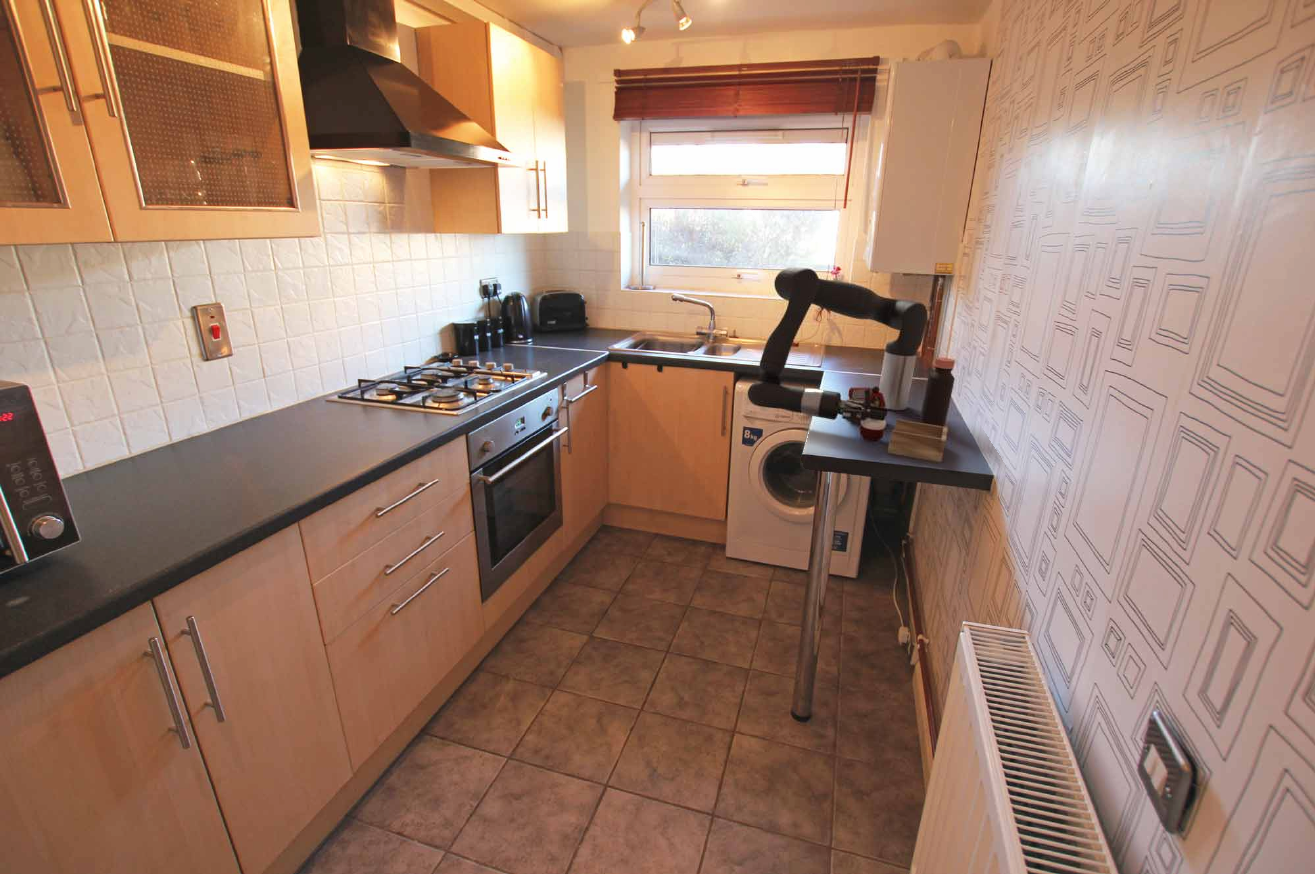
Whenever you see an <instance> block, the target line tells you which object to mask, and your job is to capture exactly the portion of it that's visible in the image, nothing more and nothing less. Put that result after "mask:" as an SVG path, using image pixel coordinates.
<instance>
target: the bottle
mask: <svg viewBox="0 0 1315 874" xmlns="http://www.w3.org/2000/svg"><path fill="white" fill-rule="evenodd" d="M955 362H956V360H955V359H953V358H947V357H936V358H935V361H934V371H932V372H930V374H929V375H928V377H927V383H926V387H925V393H924V397H923V402H922V408H921V413H920V417H919V422H918V423H924V424H930V425H936V426H942V427H944V426H946V422H947V417H948V412H949V409H950V402H951V398H952V393H953V390H954V385H955V380H956V379H955V377H954V375H953V374H952V371H953V370H954V367H955Z"/></svg>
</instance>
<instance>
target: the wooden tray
mask: <svg viewBox="0 0 1315 874" xmlns="http://www.w3.org/2000/svg"><path fill="white" fill-rule="evenodd" d="M894 426H895V427H894V429H892V430H891V432H890V438H889V443H888V448H887V452H886V453H888V454H894V455H898V456H903V455H904V456H903V457H908V456H909V458H913V457H914V459H919V460H924V461H931V462H935V463H942V460H943V456H944V451H945V446H946V441H947V436H948V428H949V426H947V425H945V426H944V427H942V426H936V425H930V424H924V423H919V422H918V421H912V420H905V419H899V418H897V419H896V421H895V425H894Z"/></svg>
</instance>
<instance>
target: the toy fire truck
mask: <svg viewBox="0 0 1315 874" xmlns="http://www.w3.org/2000/svg"><path fill="white" fill-rule="evenodd" d="M865 390H870V394H871V403H872V405H873V406H877V407H883V408H885V406H886V404H885V401H884V397H883V394H882V393H880V392H879V390H880V389H879V386H877V385H875V386H873V387H872V388H871V387H869V386H867V387H866V386H864V387H863V386H862V387H861V386H859V387H852V386H851V387H850V388H849V389H848V395H847V396H848V399H850V400H851V399H852V398H855V399H858V400H862V401H865ZM864 408H866V407H864ZM854 421H855V423H857V424H858V425H860V424H861V420H854Z"/></svg>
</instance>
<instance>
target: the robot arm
mask: <svg viewBox="0 0 1315 874" xmlns="http://www.w3.org/2000/svg"><path fill="white" fill-rule="evenodd" d="M773 284H774V289H775V291H776V293H777V295H778V296H779V297H780V298H781V299H783V300H785V301H787V302H788V303H787V307H786V310H785V312H784V314H783V316H782V318H781V320H780V321H779V323H778V324H777V326H776V327H775V328H774V330H773V331H772V333H771V334H770V335H769V337H768V338H767V341H766V343H765V345H764V348H763V352H762V355H761V359H760V361H759V364H758V366H759V367H758V368H759V370H760V371H759V374H758V375H759V376H758V381H756V382H754V383H752V384H750V386H749V387H748V390H747V398H748V400H749V402H750V403H751V404H752V405H754V406H756V407H759V408H760V407H763V408H770V409H778V410H783V411H787V412H792V413H798V414H803V415H806V416H811V417H816V418H822V419H828V420H832V421H833V420H836V419H837V417H838V415H841V419H844V420H851V421H853V420H854V421H855V420H862V421H864V420H865V419H869V418H870V419H875V420H881V421H884V419H885V420H886V417H887V415H888V411H889V410H891V411H892V410H893V411H903V410H906V409H907V406H908V401H909V396H910V390H911V385H912V382H913V381H912V380H913V375H914V370H915V365H916V359H917V354H918V351H919V348H920V347H921V345H922V341H923V338H924V334H925V331H926V326H927V322H928V310H927V309H928V308H927V307H926V305H925V304H924V303H922V302H918V301H913V300H908V299H898V298H897V299H896V298H890V297H885V296H881V295H878V294H877V293H876V292H874V290H873V289H870V288H868V287H864V286H861V285H858V284H855V283H851V282H846V281H842V280H831V279H823V278H819V276H818V274H817V272H816V271H815V270H813V269H811V268H809V267H808V268H807V267H797V266H792V267H791V266H790V267H787V268H784V269H782V270H780V271H779V272H778V274H777V275H776V276H775V279H774V283H773ZM812 305H815V306H817V307H820V308H822V309H825V310H827V311H830V312H833V313H836V314H839V315H841V316H845V317H848V318H852V319H858V320H869V321H870V320H871V321H873V322H874V321H875V322H877V323H880V324H883V325H884V326H886V327H889V328H890V329H894V330H896V331H899V333H898V337H897V339H895V340H892V341H889V342H887V343H886V345H885V350H884V354H883V355H884V356H883V362H882V368H881V372H880V373H881V374H880V379H879V385H878V387H879V389H880V390H879V392H880V393H882V394H883V397H884V401H885V404H886V406H885V408H883V407H878V406H873V405H872V403H871V411H870V409H866V408H864V407H866V405H865V401H862V400H858V399H855V398H852V399H851V400H850V399H849V398H848V399H846V400H842V395H841V393H840V392H837V391H831V390H827V389H826V390H825V389H818V388H809V387H808V388H807V387H802V386H801V387H799V386H794V385H793V386H791V385H788V386H787V385H782V378H783V372H784V370H785V367H786V363H787V362H788V358H789V356H790V355H789V354H790V351H791V349H792V346H793V343H794V341H795V338H796V336H797V334H798V332H799V329H800V327H801V326H802V324H803V322H804V320H805V318H806V316H807V313H808V311H809V309H810V308H811V306H812Z"/></svg>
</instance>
